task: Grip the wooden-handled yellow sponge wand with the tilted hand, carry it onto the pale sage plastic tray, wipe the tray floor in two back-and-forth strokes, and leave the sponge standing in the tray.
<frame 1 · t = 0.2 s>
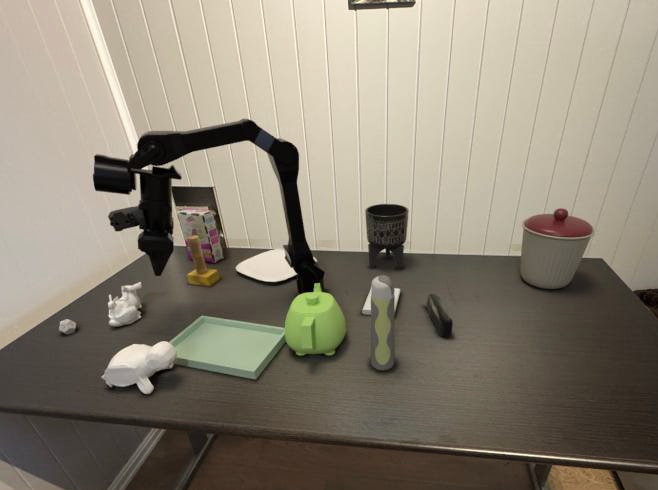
hand: (158, 267, 84), 15 cm above the table, tool pointing down, fingers open, 9 cm apart
white turtle figurine: (149, 379, 76), on the table
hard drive: (382, 304, 99), on the table
canister: (543, 281, 109), on the table
plate: (277, 268, 120), on the table
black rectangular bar: (436, 321, 92), on the table
tray: (227, 347, 84), on the table
sponge wand: (204, 281, 113), on the table
rabbit figurine: (134, 318, 96), on the table
teapot: (317, 343, 85), on the table
game die: (70, 332, 91), on the table
grey green cylinder: (382, 364, 78), on the table
planter: (386, 264, 121), on the table
candy bar box: (207, 259, 127), on the table
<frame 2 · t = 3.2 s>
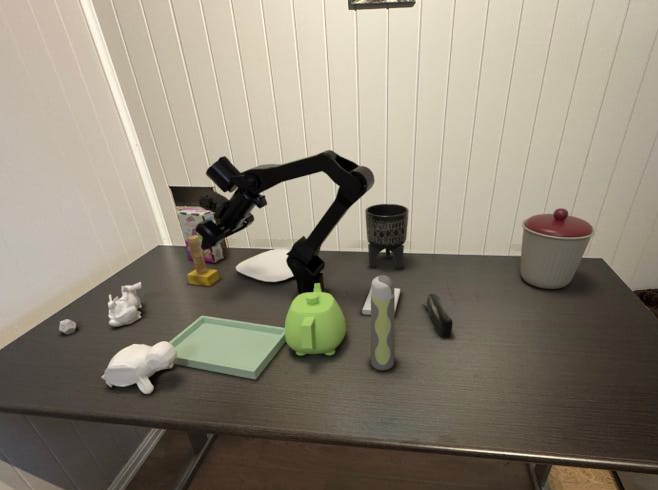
hand: (213, 242, 104), 13 cm above the table, tool tilted 45°, fingers open, 9 cm apart
nothing on the table moved.
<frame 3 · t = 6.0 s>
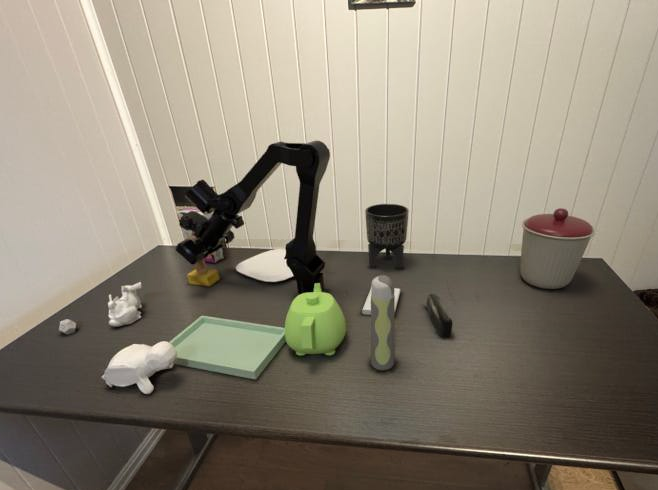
hand: (194, 259, 109), 7 cm above the table, tool tilted 45°, fingers closed on sponge wand, 3 cm apart
sponge wand: (204, 281, 113), on the table, touching gripper
everything else where it was.
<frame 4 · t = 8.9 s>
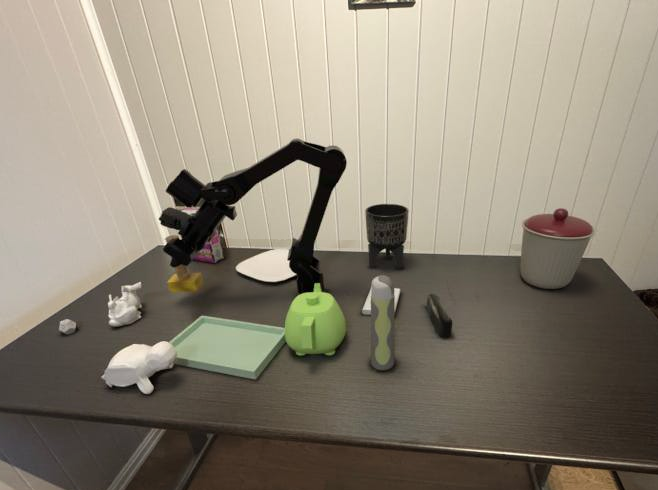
hand: (174, 263, 96), 11 cm above the table, tool tilted 45°, fingers closed on sponge wand, 3 cm apart
sponge wand: (187, 287, 100), point 4 cm above the table, touching gripper
everything else where it was.
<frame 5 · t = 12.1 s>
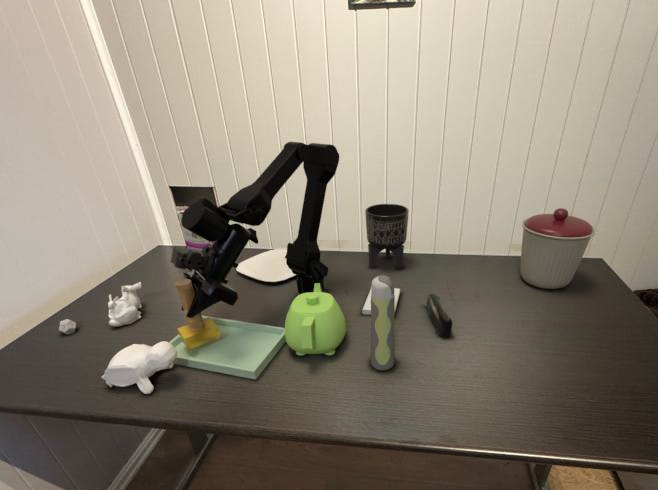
hand: (185, 313, 78), 10 cm above the table, tool tilted 45°, fingers closed on sponge wand, 3 cm apart
sponge wand: (200, 338, 82), point 3 cm above the table, touching gripper
everything else where it was.
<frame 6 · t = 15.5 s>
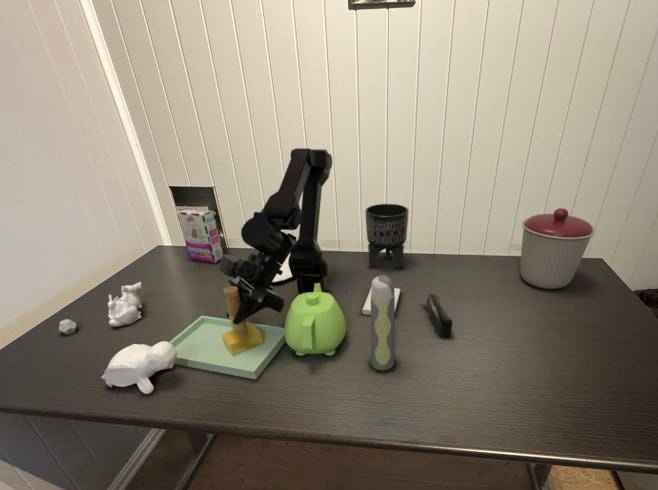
hand: (231, 320, 79), 8 cm above the table, tool tilted 45°, fingers closed on sponge wand, 3 cm apart
sponge wand: (243, 344, 84), point 1 cm above the table, touching gripper
everything else where it was.
when the fingers open (8 cm above the table, at t = 18.1 s): sponge wand stays where it is, resting on tray.
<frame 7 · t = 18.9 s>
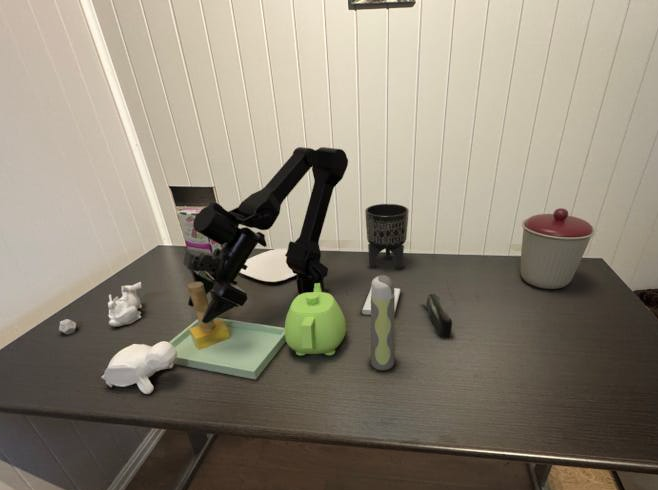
hand: (196, 313, 81), 8 cm above the table, tool tilted 45°, fingers open, 9 cm apart
sponge wand: (211, 338, 86), point 1 cm above the table, touching tray
everything else where it was.
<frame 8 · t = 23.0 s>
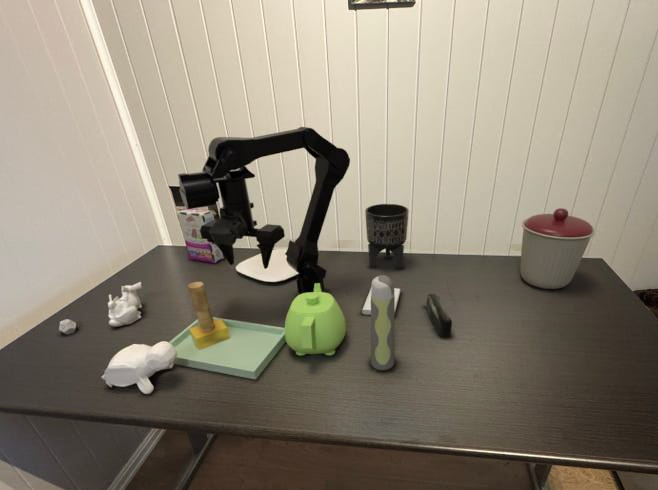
hand: (249, 266, 90), 13 cm above the table, tool pointing down, fingers open, 9 cm apart
nothing on the table moved.
at the end: sponge wand inside the target area in the tray (5.2 cm from its centre), point 0.6 cm above the tray's base; sponge wand tilted 0°; sponge wand moved 33.5 cm from its start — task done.
